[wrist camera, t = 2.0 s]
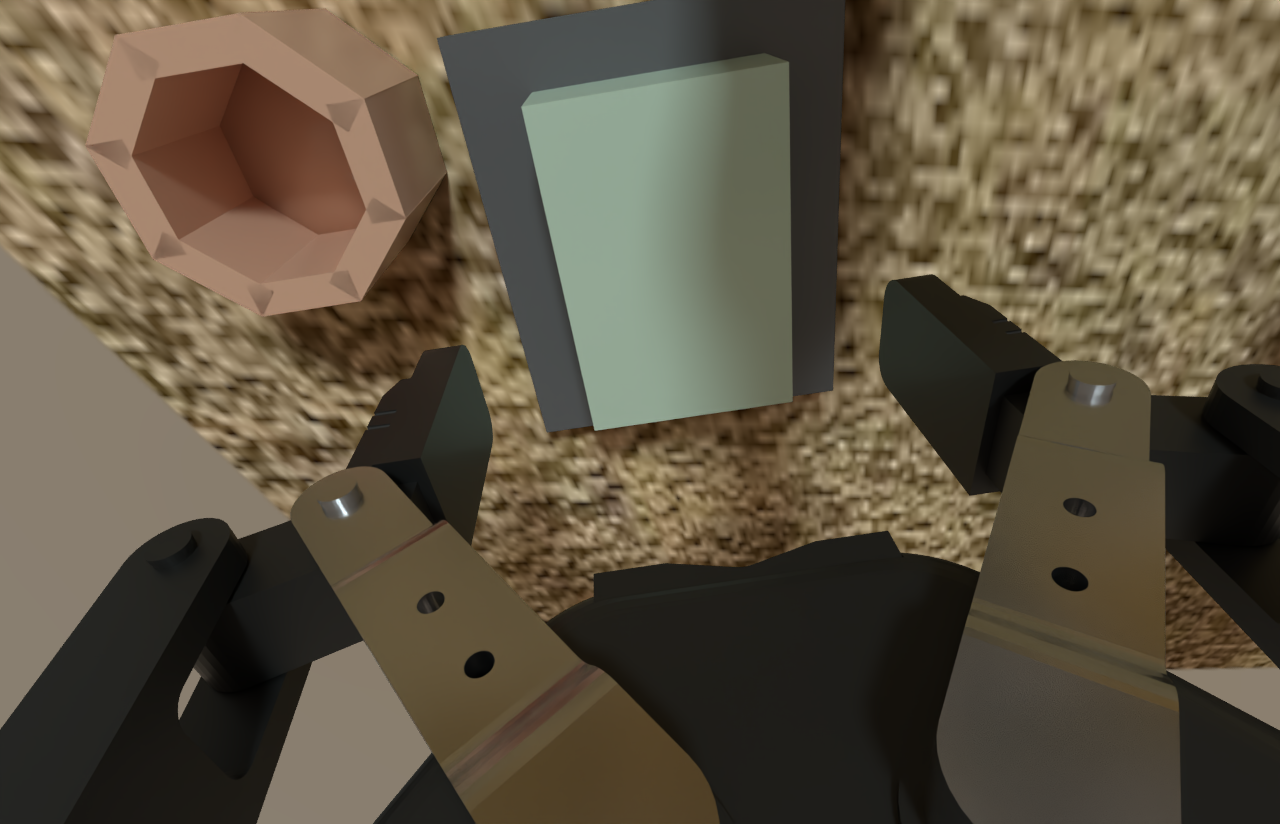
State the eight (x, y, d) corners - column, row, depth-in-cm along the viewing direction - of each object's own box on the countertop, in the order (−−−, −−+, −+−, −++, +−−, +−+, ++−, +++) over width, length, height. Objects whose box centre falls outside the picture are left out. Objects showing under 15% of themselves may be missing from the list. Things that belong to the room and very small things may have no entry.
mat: (833, -32, 16) (846, -33, 15) (824, 375, 22) (832, 390, 22) (445, 35, 16) (436, 38, 15) (548, 416, 23) (547, 432, 22)
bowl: (394, -4, 16) (328, -3, 12) (465, 232, 19) (431, 290, 15) (162, 37, 16) (28, 50, 12) (273, 262, 19) (193, 327, 16)
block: (764, 52, 16) (789, 61, 14) (773, 361, 21) (792, 401, 19) (531, 92, 16) (521, 106, 14) (595, 387, 21) (594, 430, 19)
